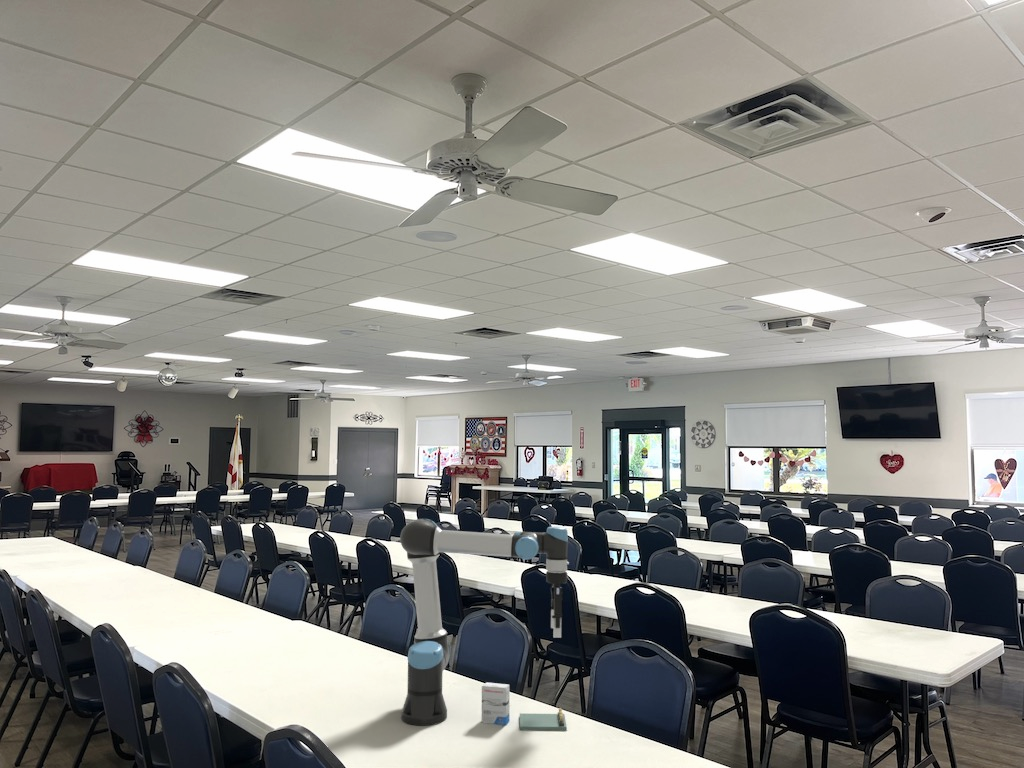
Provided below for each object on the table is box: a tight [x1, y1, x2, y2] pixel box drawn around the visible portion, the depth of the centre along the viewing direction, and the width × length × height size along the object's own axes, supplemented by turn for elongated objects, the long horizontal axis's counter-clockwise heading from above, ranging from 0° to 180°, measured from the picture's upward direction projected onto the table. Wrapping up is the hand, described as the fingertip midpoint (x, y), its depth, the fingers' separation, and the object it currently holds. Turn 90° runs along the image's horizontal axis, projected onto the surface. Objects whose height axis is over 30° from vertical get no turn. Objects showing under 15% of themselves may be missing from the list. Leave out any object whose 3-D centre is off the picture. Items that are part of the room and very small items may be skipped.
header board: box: [519, 707, 568, 731], centre depth 237 cm, size 15×12×4 cm
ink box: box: [481, 682, 511, 726], centre depth 239 cm, size 8×5×12 cm, turn 74°
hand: (555, 632), depth 254 cm, fingers open, 13 cm apart
